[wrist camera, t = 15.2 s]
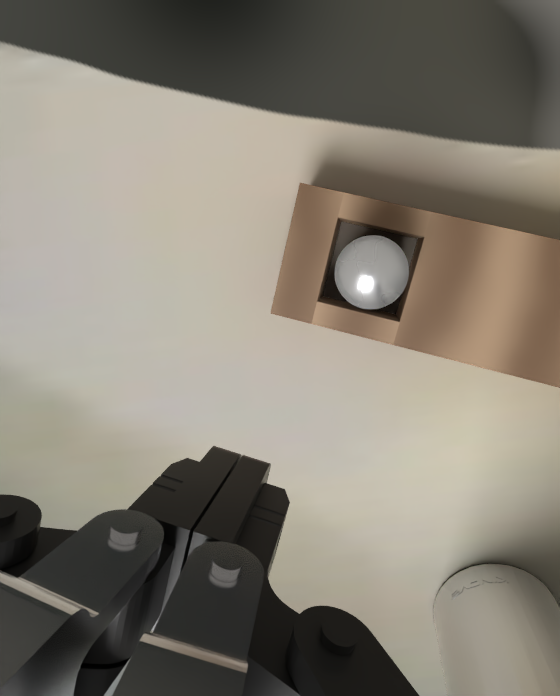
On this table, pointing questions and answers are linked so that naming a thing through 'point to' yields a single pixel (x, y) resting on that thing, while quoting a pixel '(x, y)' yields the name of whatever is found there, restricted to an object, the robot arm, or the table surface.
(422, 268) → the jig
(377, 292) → the brushed metal cylinder
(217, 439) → the table surface
